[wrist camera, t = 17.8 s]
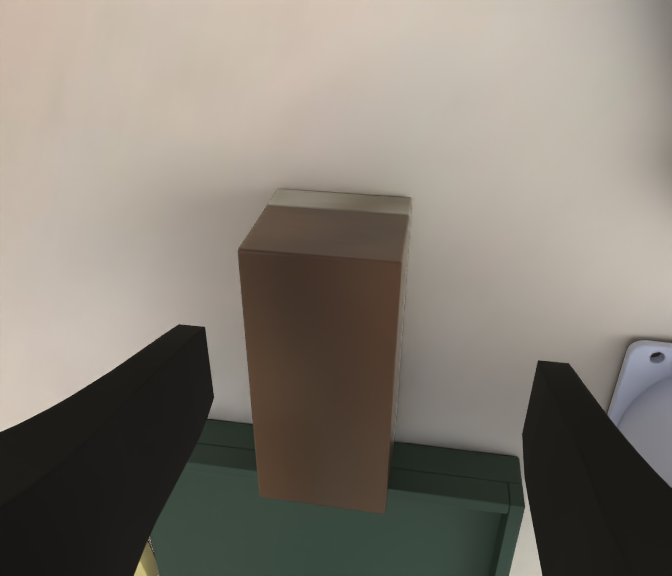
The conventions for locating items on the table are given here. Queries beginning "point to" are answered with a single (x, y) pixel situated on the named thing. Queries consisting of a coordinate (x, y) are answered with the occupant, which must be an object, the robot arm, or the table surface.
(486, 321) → the table surface
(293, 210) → the eraser
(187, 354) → the robot arm
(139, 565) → the yellow chalk
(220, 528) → the tray
